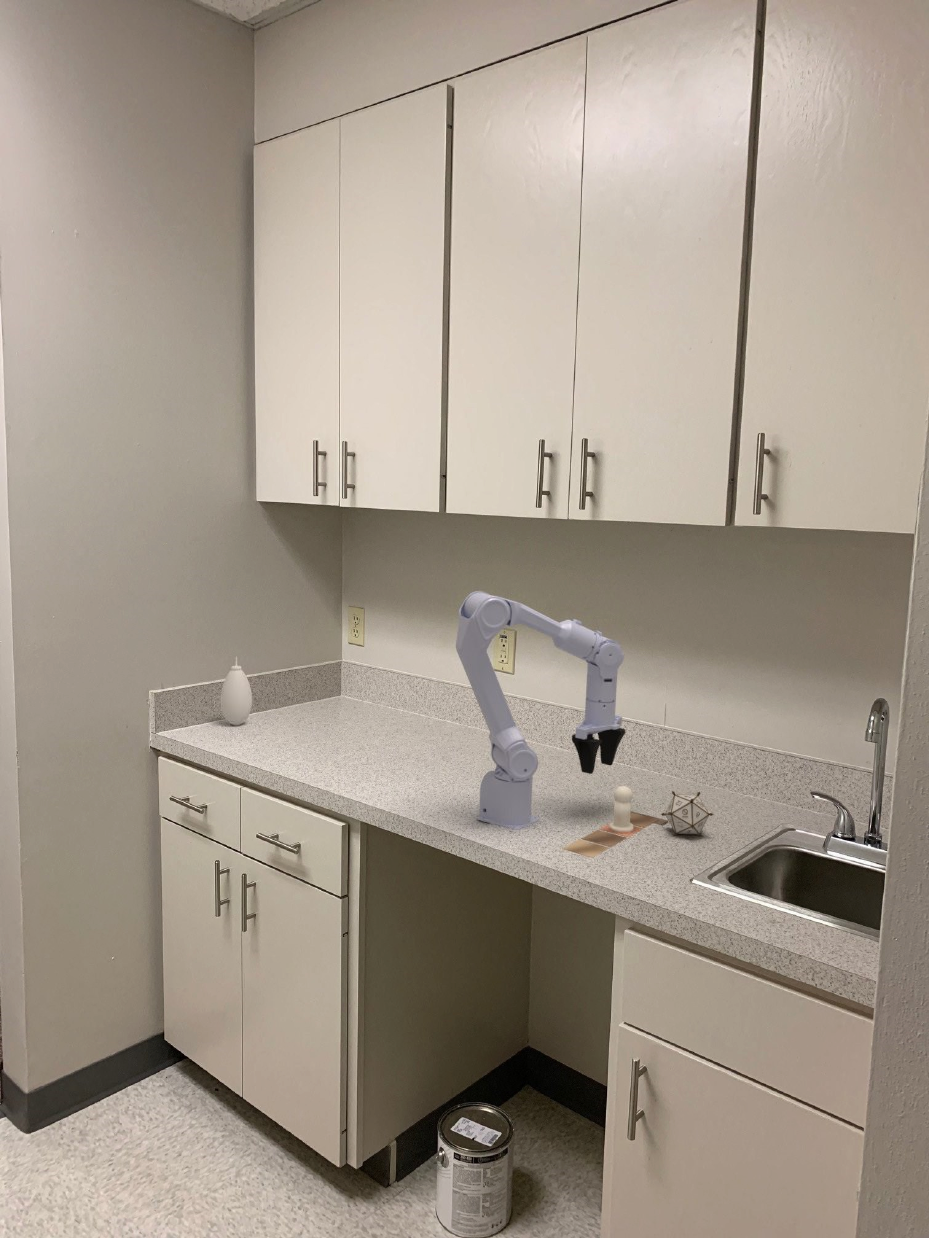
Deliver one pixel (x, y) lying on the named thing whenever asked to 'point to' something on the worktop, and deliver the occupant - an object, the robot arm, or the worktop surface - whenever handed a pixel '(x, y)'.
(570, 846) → the board
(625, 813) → the pawn
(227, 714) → the air blower bulb
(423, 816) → the worktop surface
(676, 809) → the game die
